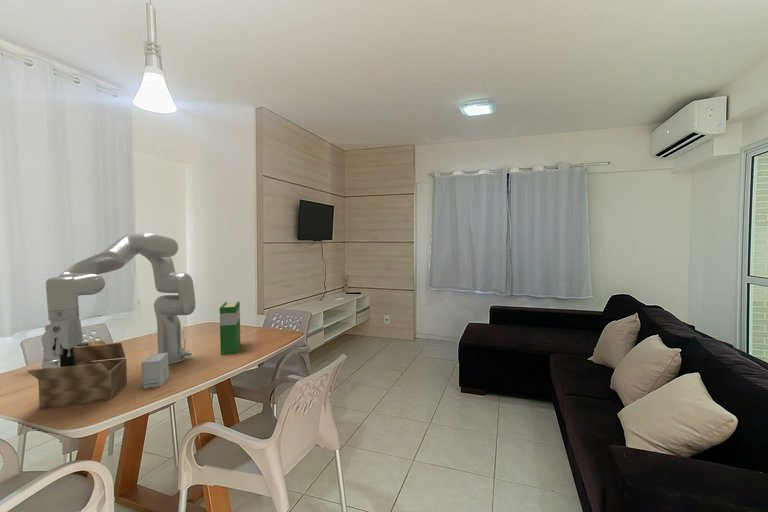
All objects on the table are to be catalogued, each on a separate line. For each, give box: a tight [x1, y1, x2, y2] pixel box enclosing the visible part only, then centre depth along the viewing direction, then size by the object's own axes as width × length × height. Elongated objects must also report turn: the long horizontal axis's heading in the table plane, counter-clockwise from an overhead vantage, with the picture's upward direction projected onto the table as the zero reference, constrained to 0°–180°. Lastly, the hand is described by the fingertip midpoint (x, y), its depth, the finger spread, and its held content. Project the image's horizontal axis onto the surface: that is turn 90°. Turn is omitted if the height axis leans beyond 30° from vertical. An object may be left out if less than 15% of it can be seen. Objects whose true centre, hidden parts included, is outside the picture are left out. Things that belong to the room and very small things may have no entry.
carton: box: [37, 357, 128, 410], centre depth 127 cm, size 20×16×10 cm
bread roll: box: [87, 339, 107, 345], centre depth 171 cm, size 10×15×8 cm, turn 29°
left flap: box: [27, 363, 109, 380], centre depth 116 cm, size 19×8×1 cm
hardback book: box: [219, 301, 241, 356], centre depth 181 cm, size 18×7×24 cm, turn 17°
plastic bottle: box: [40, 324, 60, 369], centre depth 153 cm, size 6×7×20 cm
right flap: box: [74, 342, 126, 363], centre depth 133 cm, size 19×8×1 cm
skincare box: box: [141, 353, 170, 389], centre depth 138 cm, size 10×6×10 cm, turn 16°
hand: (68, 367), depth 115 cm, fingers closed
